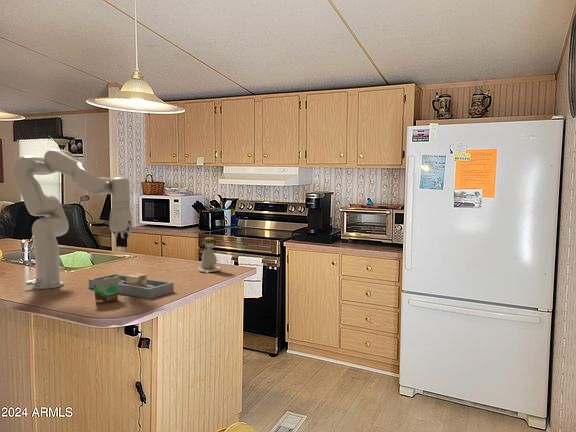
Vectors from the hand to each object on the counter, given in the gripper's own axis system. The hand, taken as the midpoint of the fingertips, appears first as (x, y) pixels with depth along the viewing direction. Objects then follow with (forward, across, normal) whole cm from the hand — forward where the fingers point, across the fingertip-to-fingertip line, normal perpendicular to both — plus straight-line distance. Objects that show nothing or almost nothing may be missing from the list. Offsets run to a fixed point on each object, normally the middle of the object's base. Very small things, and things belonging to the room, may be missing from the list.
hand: (121, 246), depth 200 cm
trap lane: (+19, +5, 0) cm, 20 cm away
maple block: (+17, +9, 0) cm, 19 cm away
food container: (+19, +14, -18) cm, 30 cm away
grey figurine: (+19, +8, +52) cm, 56 cm away
